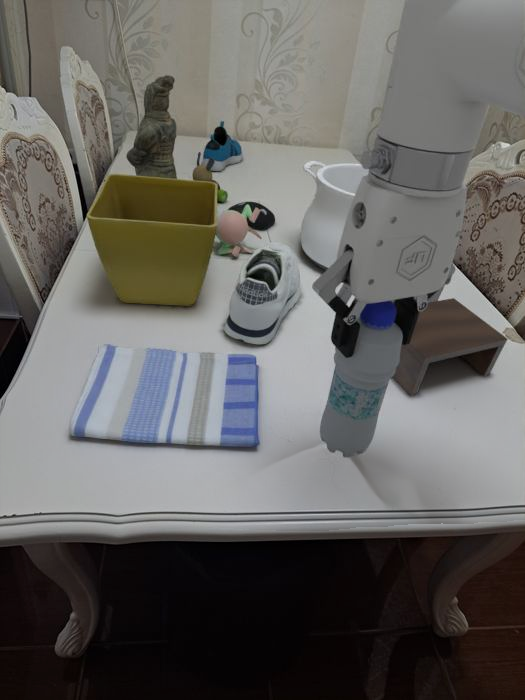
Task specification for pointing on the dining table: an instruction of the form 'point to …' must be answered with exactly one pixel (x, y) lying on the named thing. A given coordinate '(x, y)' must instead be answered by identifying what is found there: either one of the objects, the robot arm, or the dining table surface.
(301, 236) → the pot
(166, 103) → the statue
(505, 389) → the dining table surface
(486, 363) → the shelf
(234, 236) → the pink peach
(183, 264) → the flower pot
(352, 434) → the bottle
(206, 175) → the tan rounded piece
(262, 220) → the computer mouse
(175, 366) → the dish towel
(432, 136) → the robot arm
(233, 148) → the shoe
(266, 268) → the running shoe
